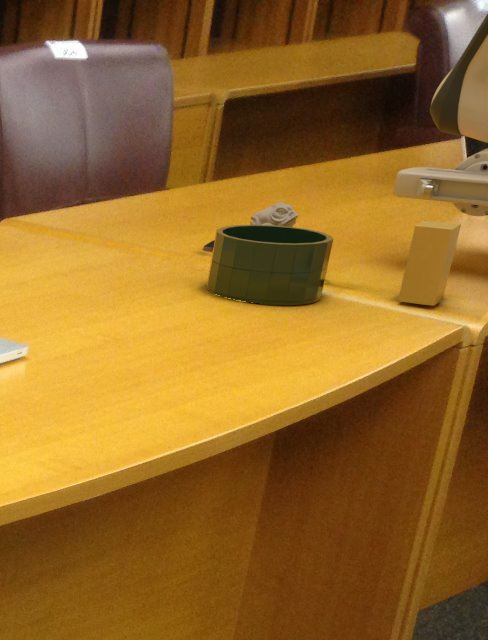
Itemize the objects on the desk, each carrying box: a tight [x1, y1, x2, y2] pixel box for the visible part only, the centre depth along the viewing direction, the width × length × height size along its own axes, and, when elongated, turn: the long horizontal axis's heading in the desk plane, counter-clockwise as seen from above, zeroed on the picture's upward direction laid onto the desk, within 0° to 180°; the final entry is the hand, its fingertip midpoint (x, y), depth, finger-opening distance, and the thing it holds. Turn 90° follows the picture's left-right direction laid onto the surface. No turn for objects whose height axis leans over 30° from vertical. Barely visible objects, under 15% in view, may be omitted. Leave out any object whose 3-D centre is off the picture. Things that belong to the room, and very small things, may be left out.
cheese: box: [397, 220, 462, 307], centre depth 205 cm, size 4×5×10 cm
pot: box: [206, 224, 334, 306], centre depth 209 cm, size 15×15×8 cm
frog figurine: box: [249, 202, 299, 227], centre depth 238 cm, size 6×7×7 cm
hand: (462, 195), depth 210 cm, fingers open, 8 cm apart
